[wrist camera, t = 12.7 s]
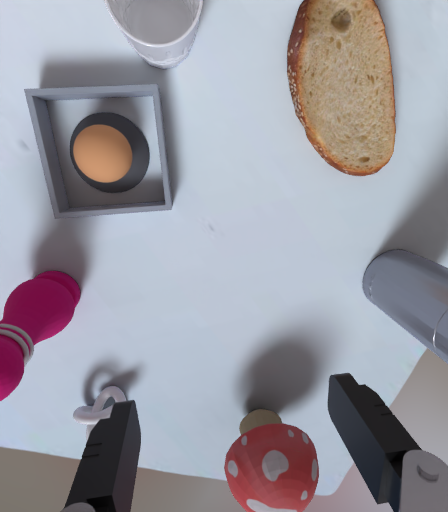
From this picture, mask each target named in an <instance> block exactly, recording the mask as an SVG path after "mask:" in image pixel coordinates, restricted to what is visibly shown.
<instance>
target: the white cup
mask: <svg viewBox="0 0 448 512" xmlns="http://www.w3.org/2000/svg"><path fill="white" fill-rule="evenodd" d="M104 2H105V4H106V7H107V9H108V11H109V13H110V15H111V17H112V19H113V20H114V22H115V23H116V25H117V26H118V27H119V29H120V30H121V32H122V33H123V35H124V36H125V38H126V39H127V41H128V42H129V43H130V45H131V46H132V47H133V49H134V50H135V51H136V52H137V53H138V55H139V56H140V57H142V58H143V59H144V60H145V61H146V62H147V63H148V64H149V65H151V66H155V67H158V68H162V69H167V68H171V67H176V66H178V65H179V64H180V63H181V62H182V61H183V60H185V59H186V58H187V57H188V54H189V52H190V49H191V47H192V45H193V42H194V39H195V36H196V32H197V29H198V24H199V19H200V14H201V10H202V5H203V0H104Z"/></svg>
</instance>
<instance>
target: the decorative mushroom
mask: <svg viewBox="0 0 448 512" xmlns="http://www.w3.org/2000/svg"><path fill="white" fill-rule="evenodd" d="M239 429H240V433H241V436H240V437H239V438H238V439H237V440H236V441H235V442H234V443H233V444H232V446H231V447H230V449H229V451H228V453H227V454H226V460H225V466H224V469H225V474H226V478H227V481H228V484H229V487H230V490H231V492H232V494H233V496H234V497H235V499H236V500H237V501H238V502H239V503H240V505H241V506H242V507H243V508H244V509H245V510H246V511H247V512H302V511H303V510H305V508H306V507H307V505H308V504H309V503H310V501H311V500H312V498H313V496H314V493H315V490H316V487H317V483H318V477H319V467H318V460H317V454H316V450H315V447H314V444H313V442H312V441H311V439H310V438H309V436H308V435H307V434H306V433H305V432H303V431H302V430H300V429H299V428H297V427H295V426H291V425H287V424H283V423H282V421H281V418H280V417H279V415H278V414H276V413H274V412H273V411H269V410H266V409H257V410H254V411H252V412H250V413H249V414H248V415H247V416H246V417H245V418H243V420H242V421H241V423H240V428H239Z"/></svg>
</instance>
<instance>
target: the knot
mask: <svg viewBox="0 0 448 512" xmlns="http://www.w3.org/2000/svg"><path fill="white" fill-rule="evenodd" d="M110 396H111V397H113V398H114V400H115V402H123V401H127V400H126V397H125V395H124V393H123V392H122V391H121V389H119V388H118V387H116V386H109V387H107V388H105V389H104V390H103V391H102V392H101V393H100V394H99V396H98V397H97V399H96V401H95V403H94V405H93V406H82V407H79V408H77V409H76V410H75V411H74V414H73V418H74V420H75V421H76V422H78V423H80V424H85V425H87V431H86V439H87V440H88V437H89V434H90V432H91V430H92V429H93V428H94V426H95V425H96V424H97V422H98V421H99V420H100V419H105V418H110V414H111V411H112V407H113V405H114V404H113V405H111V406H109V407H108V408H106V409H104V410H102V409H103V407H104V405H105V403H106V401H107V399H108V398H109V397H110Z"/></svg>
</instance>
